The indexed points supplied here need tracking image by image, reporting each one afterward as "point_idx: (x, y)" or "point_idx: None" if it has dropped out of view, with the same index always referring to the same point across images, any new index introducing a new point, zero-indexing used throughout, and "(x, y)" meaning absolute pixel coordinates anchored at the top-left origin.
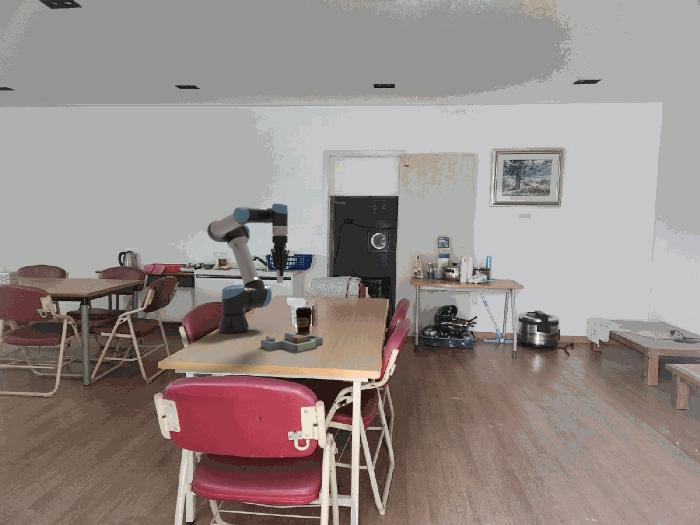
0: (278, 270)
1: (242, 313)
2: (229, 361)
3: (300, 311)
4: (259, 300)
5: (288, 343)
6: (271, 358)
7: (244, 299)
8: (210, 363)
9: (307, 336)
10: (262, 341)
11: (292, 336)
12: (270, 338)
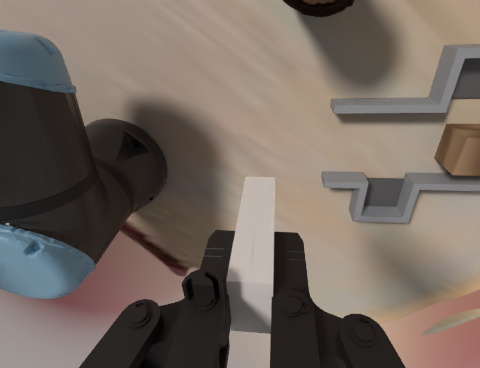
0: (269, 326)
1: (124, 184)
2: (390, 301)
3: (340, 5)
4: (78, 130)
5: (454, 189)
6: (459, 248)
7: (95, 213)
8: None
9: (455, 81)
10: (360, 219)
11: (454, 171)
12: (361, 194)
